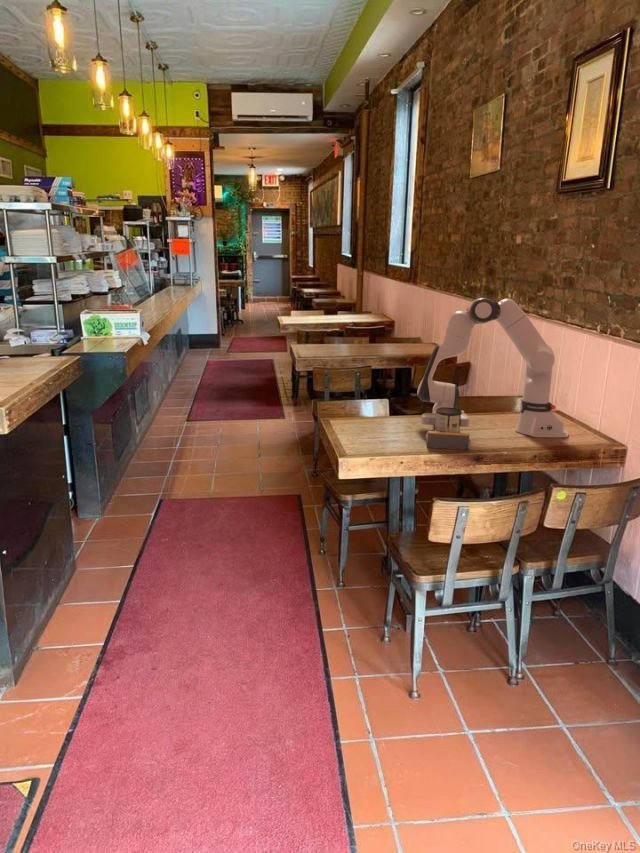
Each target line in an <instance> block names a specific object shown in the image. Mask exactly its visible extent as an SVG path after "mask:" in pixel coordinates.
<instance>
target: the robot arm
mask: <svg viewBox="0 0 640 853" xmlns="http://www.w3.org/2000/svg"><path fill="white" fill-rule="evenodd" d="M492 321H496V322H497V323H498V324H499V325H500V327H501V328H502V329H503V331H504V332H505V334H507V336H508V337H509V339H510V340H511V342H512V343H513V345H514V346H515V347H516V349H517V351H518V352H519V354H520V355H521V357H522V358H523V359H524V360H523V361H524V362H525V363H526V364H525V366H526V367H525V374H524V375H525V376H524V385H523V393H522V398H521V400H520V406H519V412H520V413H519V418H518V421H517V423H516V427H515V431H516V432H517V433H519V434H523V435H525V436H530V437H533V438H568V437H569V432H568V431H567V430H566V429H564V422H563V420H562V419H561V418H560V417H559V416H558V414H556V413H555V412H554V411H553V410H556V408H557V407H556V405H555V404H553V403H551V402H550V393H551V387H552V386H551V385H552V376H553V375H552V374H553V366H554V364H555V361H556V360H555V359H556V358H555V354H554V351H553V349H552V348H551V346H550V345H548V344H547V342H546V341H545V340H544V338H543V336H542V335H541V333H539V331H538V329H537V328H536V326H535V325H534V324H533V323H532V321H531V320H530V318H529V317H528V315H527V314H526V313H525V312H524V310H523V309H522V308H521V306H519V305H518V303H517V302H516V301H515V300H514V299H511V298H504V299H501V300H499V301H498V302H497V301H495V300H493V299H491V298H488V297H479V298H475V299H474V300H473V301H472V302H471V304H470V306H468V308H467V309H466V310H457V311H454V312H453V313H451V315H450V318H449V320H448V322H447V325H446V330H445V334H444V338H443V339H442V341H441V342H440V343H439V344H436V346H435V347H434V349H433V351H432V353H431V356H430V358H429V361H428V363H427V366H426V369H425V371H424V374H423V377H422V379H421V381H420V383H419V385H418V387H417V393H416V394H417V397H418V399H419V400H420V401H421V402H422V403H423V402H425V403H433V404H434V405H433V407H432V412H424V413H422V414H421V415H420V416H419V417H420V419H421V424H422V425H426V426H427V425H429V426H435V422H436V409H437V408H443V407H448V408H456V409H457V407H458V405H459V401H460V389H459V388H458V386H457V385H456V384H455V383H450V382H443V381H437V380H433V377H434V374H435V372H436V370H437V366H438V365H439V363H440V362H441V361H443V360H445V359H449V358H454V357H455V358H456V357H458V356H461V355H462V354H464V353H465V352H466V351H467V350H468V348H469V345H470V341H471V336H472V330H473V328H474V326H475V325H479V324H482V325H483V324H486V323H489V322H492ZM460 410H461V409H460ZM461 411H462V412H461V419H460V427H462V428H463V427H464V428H467V427H469V425H470V417H469V415H468V414H466V413H465V411H464V410H461Z"/></svg>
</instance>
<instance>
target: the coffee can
mask: <svg viewBox="0 0 640 853" xmlns="http://www.w3.org/2000/svg"><path fill="white" fill-rule="evenodd" d="M462 411H463V410H462ZM462 411H461V409H459V408H457V407H456V408H448V407H443V408H437V409H436V422H435V425H434V432H450V433H460V419H461V412H462Z"/></svg>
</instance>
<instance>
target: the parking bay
mask: <svg viewBox="0 0 640 853" xmlns="http://www.w3.org/2000/svg"><path fill="white" fill-rule="evenodd" d="M425 442H426V448H427V447H437V448H436V449H441V448H448V449H447V450H457V449H462V450H461V451H468V450H469V444H470V433H468V432H467V433H464V432H459V433H450V432H435V431H432V430H431V431H430V430H429V431H427V432H426V433H425Z"/></svg>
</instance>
